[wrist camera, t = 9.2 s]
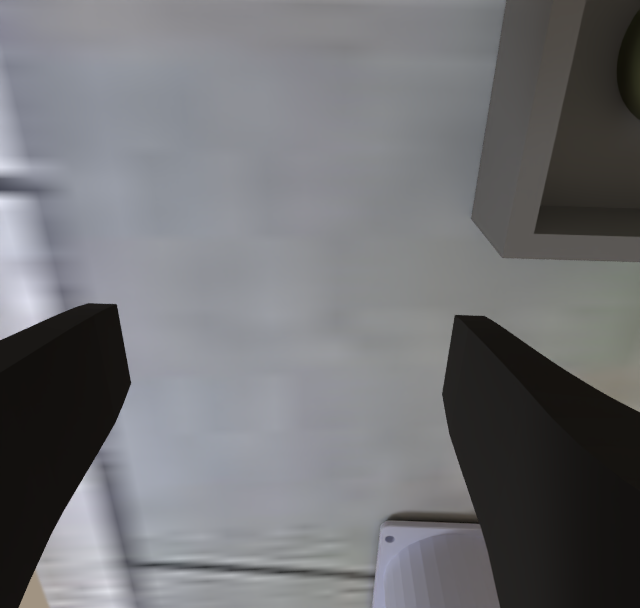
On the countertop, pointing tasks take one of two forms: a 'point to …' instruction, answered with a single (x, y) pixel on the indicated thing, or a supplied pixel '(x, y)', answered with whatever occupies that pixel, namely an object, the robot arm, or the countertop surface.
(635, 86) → the green cylinder
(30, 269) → the countertop surface
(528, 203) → the bin
